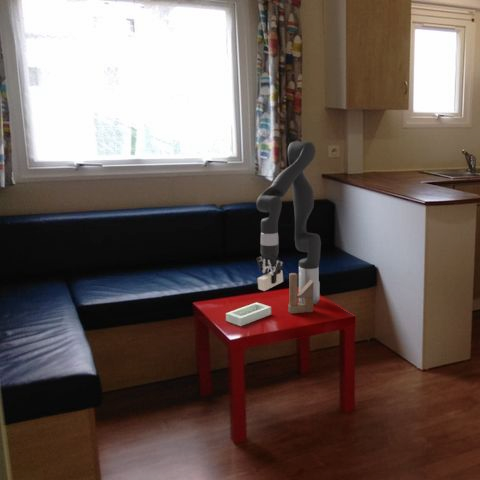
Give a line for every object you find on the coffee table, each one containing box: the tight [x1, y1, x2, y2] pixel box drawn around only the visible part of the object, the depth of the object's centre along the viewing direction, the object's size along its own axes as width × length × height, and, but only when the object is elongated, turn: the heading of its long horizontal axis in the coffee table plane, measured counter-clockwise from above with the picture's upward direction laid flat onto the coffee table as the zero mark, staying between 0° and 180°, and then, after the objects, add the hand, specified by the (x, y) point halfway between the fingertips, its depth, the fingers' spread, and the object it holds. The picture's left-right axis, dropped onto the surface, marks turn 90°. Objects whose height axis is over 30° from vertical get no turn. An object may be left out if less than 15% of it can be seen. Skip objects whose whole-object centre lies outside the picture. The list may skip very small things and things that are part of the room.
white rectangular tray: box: [225, 302, 272, 327], centre depth 233 cm, size 19×9×4 cm, turn 134°
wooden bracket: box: [287, 272, 314, 314], centre depth 237 cm, size 4×11×18 cm, turn 102°
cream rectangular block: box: [257, 269, 284, 292], centre depth 226 cm, size 12×4×5 cm, turn 135°
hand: (269, 282), depth 226 cm, fingers closed on cream rectangular block, 3 cm apart
